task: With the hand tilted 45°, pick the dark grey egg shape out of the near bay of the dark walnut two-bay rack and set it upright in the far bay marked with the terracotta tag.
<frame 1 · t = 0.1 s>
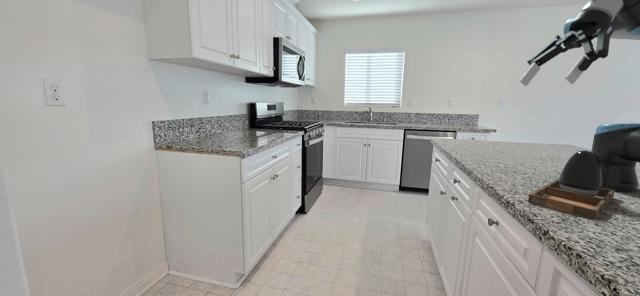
hand: (543, 82, 75), 36 cm above the worktop, tool tilted 35°, fingers open, 13 cm apart
rack: (571, 199, 85), on the worktop
dark grey egg shape: (577, 196, 89), resting in rack
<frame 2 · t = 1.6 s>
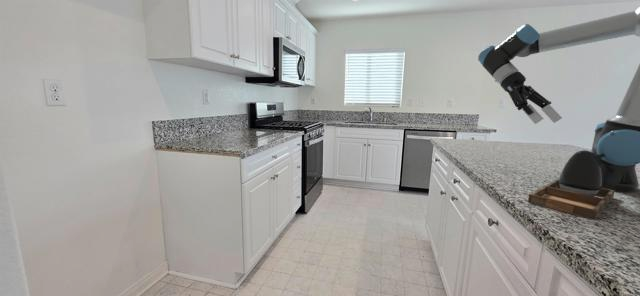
hand: (549, 120, 94), 24 cm above the worktop, tool tilted 45°, fingers open, 13 cm apart
nothing on the worktop moved.
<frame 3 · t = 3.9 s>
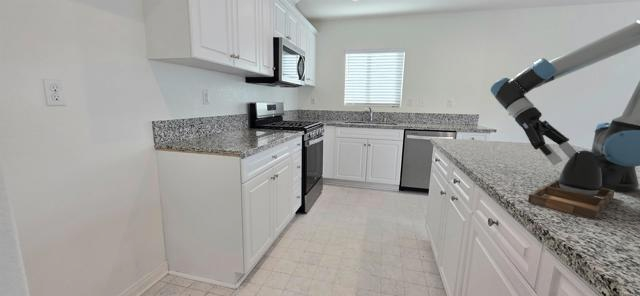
hand: (567, 160, 90), 11 cm above the worktop, tool tilted 45°, fingers open, 13 cm apart
nothing on the worktop moved.
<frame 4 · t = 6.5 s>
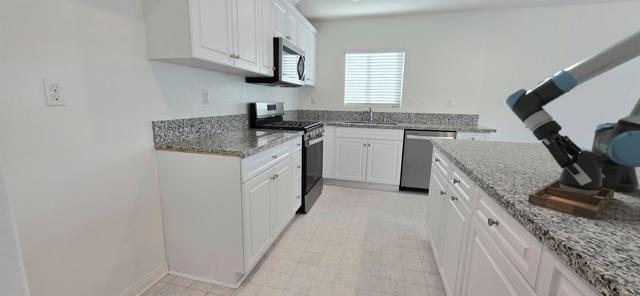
hand: (593, 181, 85), 6 cm above the worktop, tool tilted 45°, fingers closed on dark grey egg shape, 9 cm apart
dark grey egg shape: (577, 196, 89), resting in rack, touching gripper
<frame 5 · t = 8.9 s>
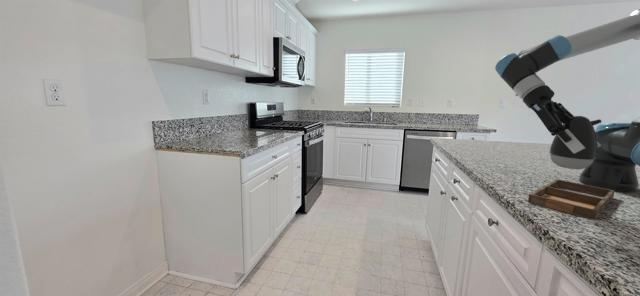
hand: (587, 149, 76), 17 cm above the worktop, tool tilted 45°, fingers closed on dark grey egg shape, 9 cm apart
dark grey egg shape: (569, 167, 80), point 11 cm above the worktop, touching gripper
when the fingers open (7 cm above the worktop, at t = 11.8 s): dark grey egg shape drops 1 cm, resting on rack.
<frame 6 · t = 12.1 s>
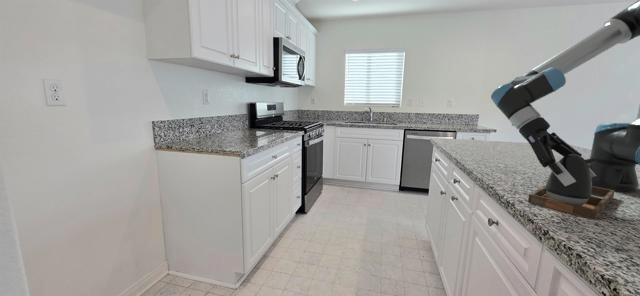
hand: (581, 180, 77), 8 cm above the worktop, tool tilted 45°, fingers open, 13 cm apart
dark grey egg shape: (565, 204, 81), resting on rack
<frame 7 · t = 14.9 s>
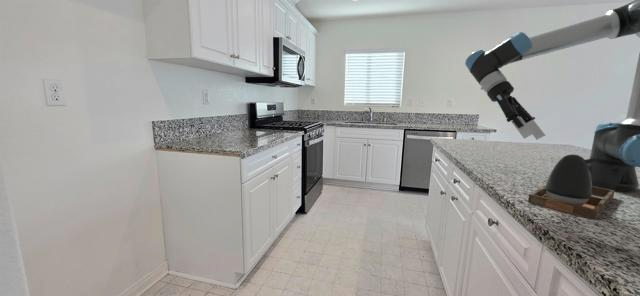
hand: (535, 136, 87), 19 cm above the worktop, tool tilted 40°, fingers open, 13 cm apart
nothing on the worktop moved.
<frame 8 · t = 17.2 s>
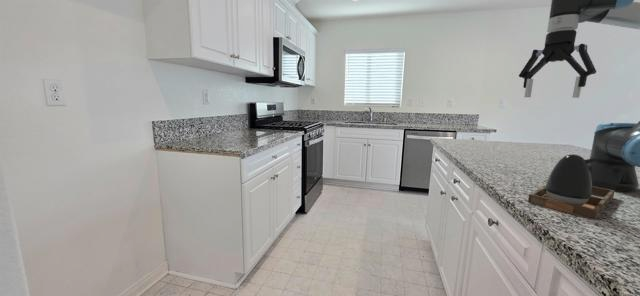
hand: (550, 97, 92), 32 cm above the worktop, tool pointing down, fingers open, 13 cm apart
nothing on the worktop moved.
at the end: dark grey egg shape inside the target area on the rack (0.1 cm from its centre), point 0.0 cm above the rack's base; dark grey egg shape tilted 0°; the gripper is holding nothing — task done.
